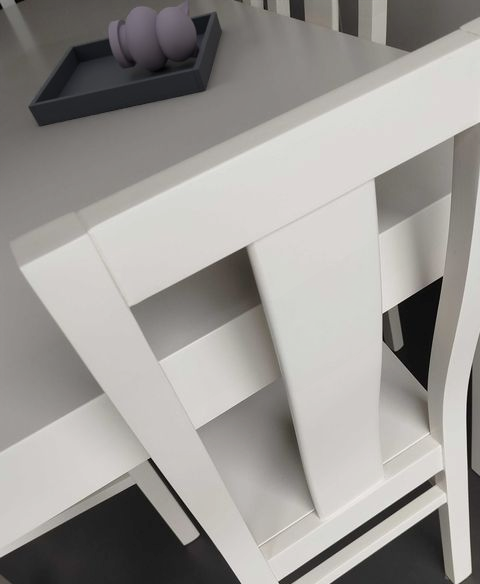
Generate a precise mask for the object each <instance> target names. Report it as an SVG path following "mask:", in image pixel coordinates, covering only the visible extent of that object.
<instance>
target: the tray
mask: <svg viewBox="0 0 480 584" xmlns="http://www.w3.org/2000/svg"><path fill="white" fill-rule="evenodd" d="M189 17H190V16H189ZM190 18H191V20H192V22H193V24H194V26H195V29H196V34H197V45H198V48H199V53H198V56H197V58H189V59H187V60H186V61H182V62H174V61H171V60H170V59H168V61H167V62H166V64H165V66H164V67H163V68H161V69H160V70H156V71H148V70H146V69H144V68H142V67H141V66H140V65H138V64H137V63H136V65H135V67H131V68H125V69H124V68H122V67H121V66H120V65H119V64H118V63H117V61H116V59H115V57H114V55H113V52H112V49H111V46H110V41H109V36H108V37H103V38H99V39H95V40H90V41H86V42H82V43H78V44H74V45H69V47H68V49H67V50H66V51H65V53H64V54H63V56H62V57H61V58H60V60H59V62H57V64H56V66H54V69H53V70H52V71H51V73H49V76H48V78H47V79H46V80H45V81H44V83H43V85H41V88H39V90H38V92H37V93H36V95H35V96H34V98H33V99H32V100H31V102H30V103H29V105H28V106H27V107H28V108H27V109H28V110H29V112H30V113H31V114H32V117H33V118H34V120H35V122H36V123H37V126H38V127H42V126H46V125H50V124H56V123H61V122H66V121H70V120H74V119H80V118H84V117H88V116H93V115H99V114H102V113H106V112H107V113H108V112H112V111H117V110H121V109H122V110H123V109H125V108H132V107H136V106H140V105H145V104H151V103H153V102H159V101H164V100H168V99H172V98H176V97H181V96H186V95H190V94H196V93H201V92H205V91H206V90H207V86H208V83H209V79H210V75H211V72H212V69H213V68H212V67H213V64H214V60H215V57H216V54H217V50H218V46H219V43H220V39H221V35H222V27H221V22H220V20H219V16H218V13H217V11H215V10H214V11H212V12H207V13H203V14H199V15H196V16H191V17H190ZM163 99H164V100H163Z"/></svg>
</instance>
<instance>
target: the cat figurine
mask: <svg viewBox="0 0 480 584" xmlns="http://www.w3.org/2000/svg"><path fill="white" fill-rule="evenodd" d="M108 37H109V41H110V46H111V49H112V52H113V55H114V57H115V59H116V61H117V63H118V64H119V65H120V66H121V67H122V68H124V69H125V68H131V67H135V65H136V63H137V64H138V65H140V66H141V67H142V68H144V69H146V70H148V71H156V70H160V69H161V68H163V67H164V66H165V64H166V62H167V61H168V59H170V60H171V61H174V62H182V61H186V60H187V59H189V58H197V56H198V53H199V48H198V45H197V34H196V29H195V26H194V24H193V22H192V20H191V18H190V0H185V1H184V2H182V3H180V4H178V5H177V6H167V7H164V8H163V9H162V10H161V11H160V12H159V13H158V12H156V11H155V10H154V9H152V8H151V7H149V6H142V5H141V6H135V7H134V8H133V9H131V11H130V12H129V13H128V15H127V17H126V19H125V20H124V19H118V20H117V19H116V20H111V21H110V22H109V25H108Z"/></svg>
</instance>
